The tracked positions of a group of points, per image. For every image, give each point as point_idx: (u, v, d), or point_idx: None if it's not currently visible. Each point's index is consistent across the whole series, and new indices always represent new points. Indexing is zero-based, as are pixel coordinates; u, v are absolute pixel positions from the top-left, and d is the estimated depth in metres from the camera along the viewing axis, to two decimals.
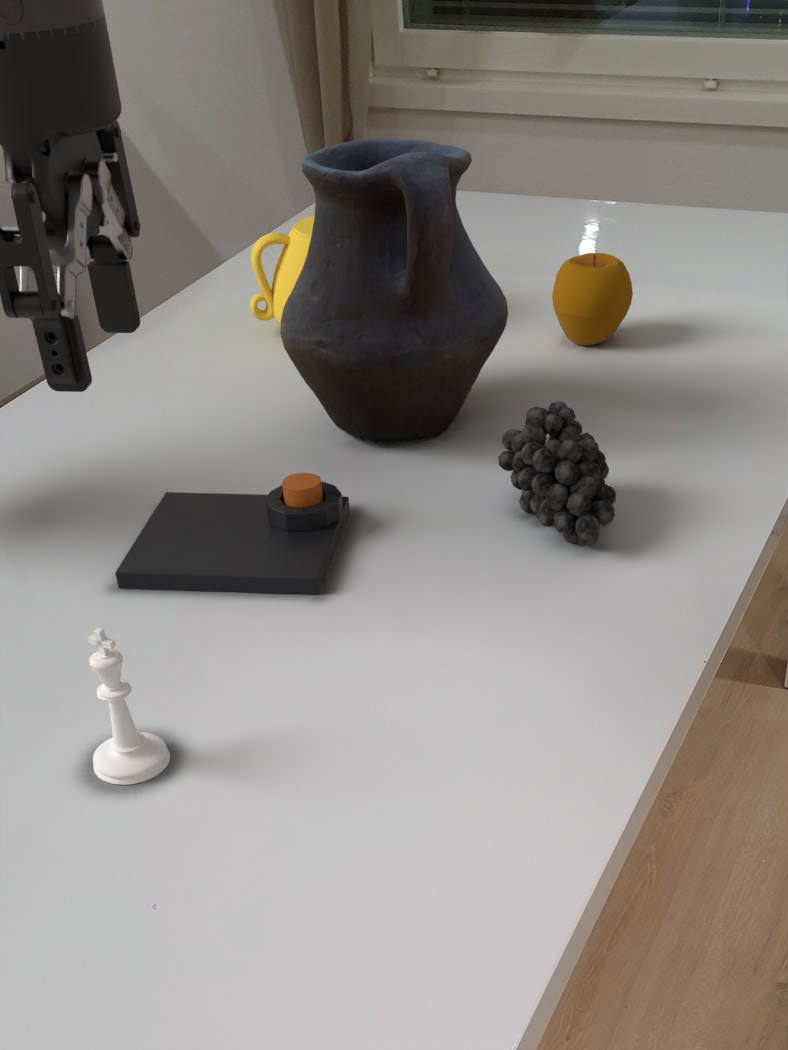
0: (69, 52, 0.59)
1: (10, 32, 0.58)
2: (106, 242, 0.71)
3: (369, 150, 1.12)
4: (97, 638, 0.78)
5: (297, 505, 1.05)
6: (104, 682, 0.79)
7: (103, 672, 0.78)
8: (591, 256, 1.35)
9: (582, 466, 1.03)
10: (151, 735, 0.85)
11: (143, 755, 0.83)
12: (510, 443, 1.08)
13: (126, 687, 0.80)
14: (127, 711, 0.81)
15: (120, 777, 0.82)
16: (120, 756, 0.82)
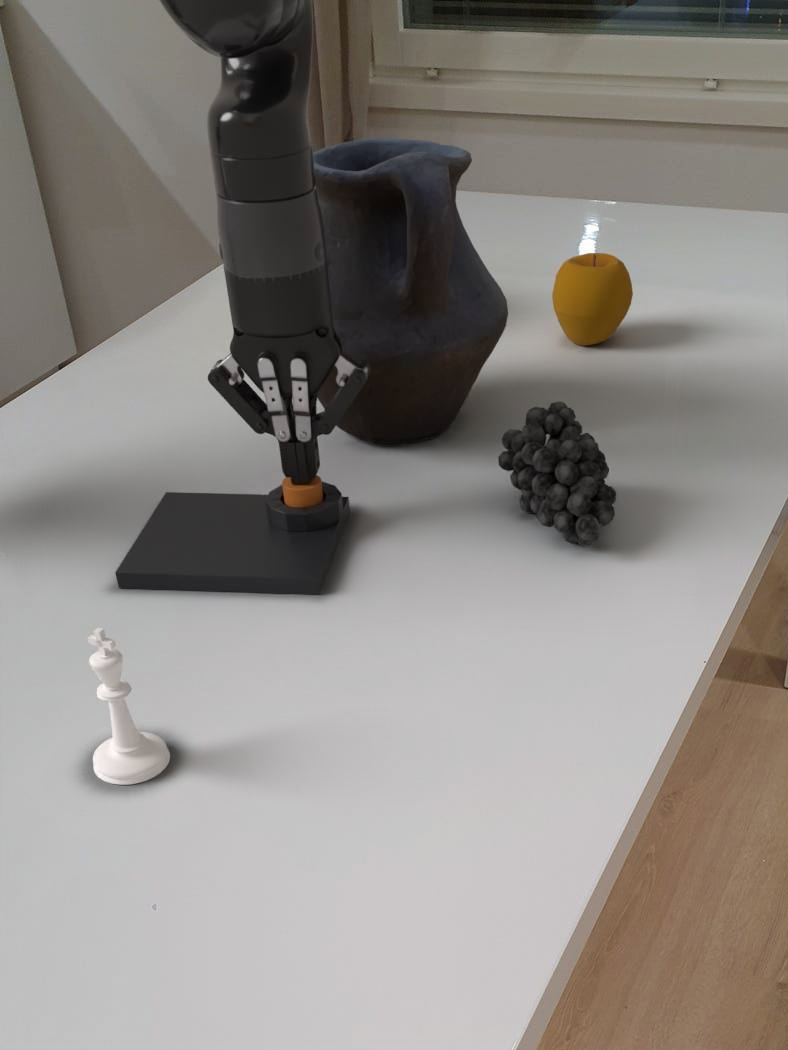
0: (235, 287, 0.92)
1: None
2: None
3: (369, 150, 1.12)
4: (97, 638, 0.78)
5: (297, 505, 1.05)
6: (104, 682, 0.79)
7: (103, 672, 0.78)
8: (591, 256, 1.35)
9: (582, 466, 1.03)
10: (151, 735, 0.85)
11: (143, 755, 0.83)
12: (510, 443, 1.08)
13: (126, 687, 0.80)
14: (127, 711, 0.81)
15: (120, 777, 0.82)
16: (120, 756, 0.82)
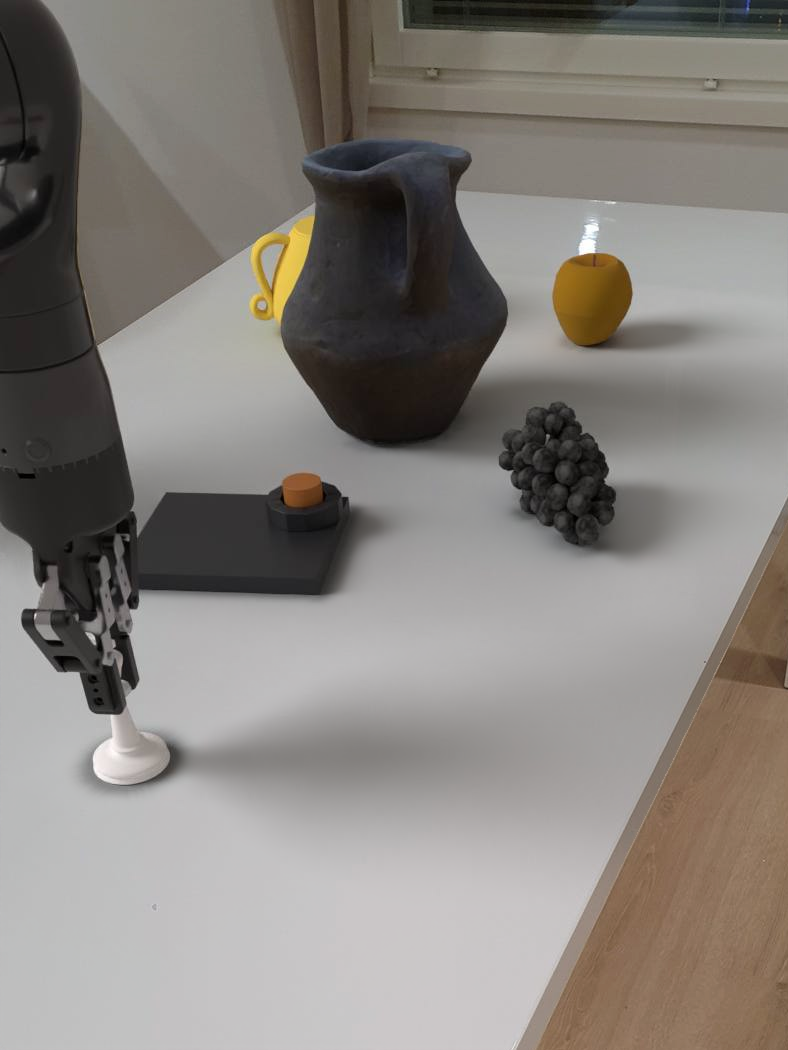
0: (90, 475, 0.68)
1: (39, 467, 0.67)
2: None
3: (369, 150, 1.12)
4: None
5: (297, 505, 1.05)
6: None
7: None
8: (591, 256, 1.35)
9: (582, 466, 1.03)
10: (151, 735, 0.85)
11: (143, 755, 0.83)
12: (510, 443, 1.08)
13: (126, 687, 0.80)
14: (127, 711, 0.81)
15: (120, 777, 0.82)
16: (120, 756, 0.82)
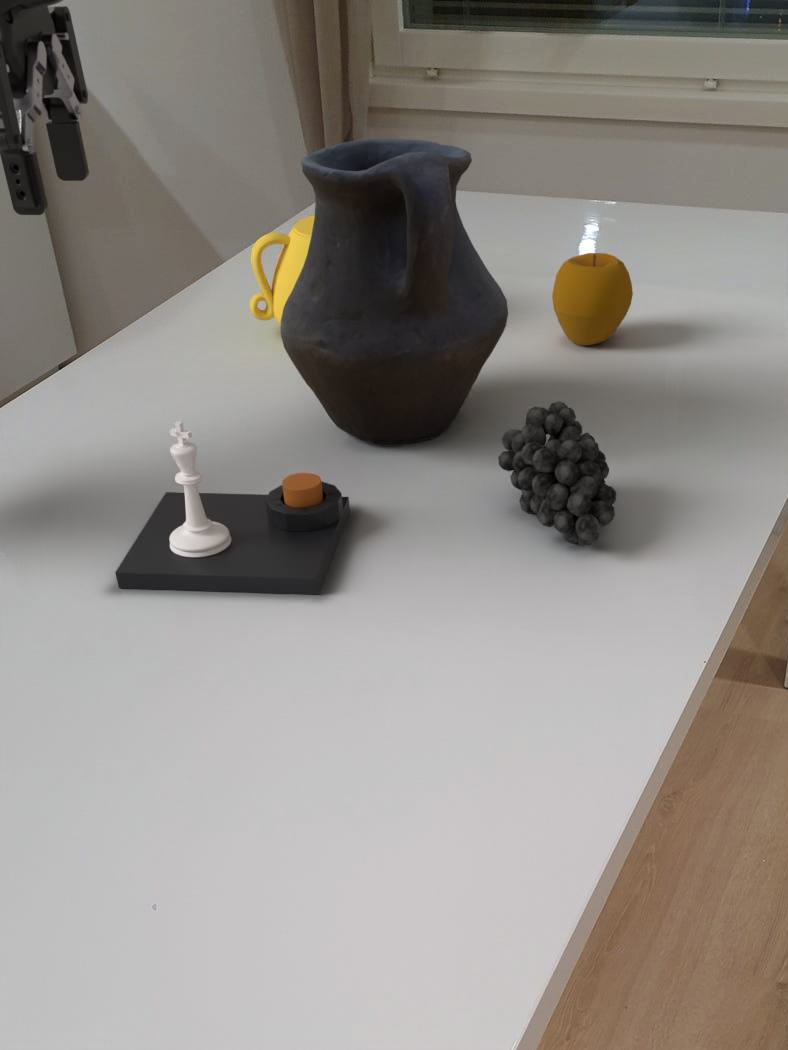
0: None
1: None
2: (60, 105, 0.91)
3: (369, 150, 1.12)
4: (177, 429, 0.97)
5: (297, 505, 1.05)
6: (181, 468, 0.99)
7: (182, 458, 0.98)
8: (591, 256, 1.35)
9: (582, 466, 1.03)
10: (216, 522, 1.04)
11: (210, 534, 1.02)
12: (510, 443, 1.08)
13: (198, 474, 1.00)
14: (198, 496, 1.01)
15: (192, 551, 1.01)
16: (192, 535, 1.02)
